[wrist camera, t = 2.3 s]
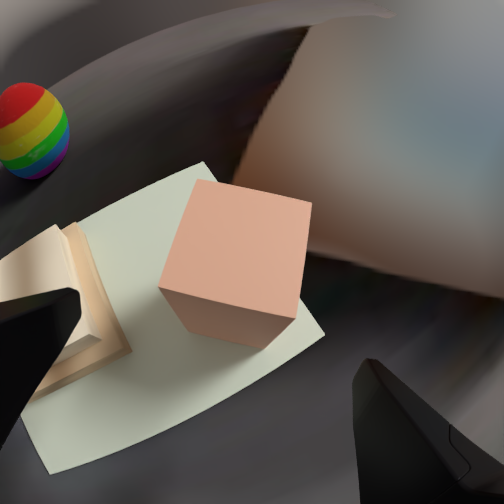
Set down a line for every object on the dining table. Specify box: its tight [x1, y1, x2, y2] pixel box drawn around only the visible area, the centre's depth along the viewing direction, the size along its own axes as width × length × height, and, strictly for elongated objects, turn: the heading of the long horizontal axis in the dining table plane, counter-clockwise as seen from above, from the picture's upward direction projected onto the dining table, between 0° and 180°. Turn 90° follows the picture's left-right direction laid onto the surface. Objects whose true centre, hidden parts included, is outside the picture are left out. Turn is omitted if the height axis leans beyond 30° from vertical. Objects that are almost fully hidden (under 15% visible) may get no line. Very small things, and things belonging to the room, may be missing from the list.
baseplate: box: [21, 162, 325, 475], centre depth 18 cm, size 23×17×1 cm
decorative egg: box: [0, 83, 69, 179], centre depth 20 cm, size 8×8×10 cm
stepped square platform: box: [0, 222, 133, 403], centre depth 16 cm, size 10×10×4 cm
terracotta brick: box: [158, 179, 312, 349], centre depth 15 cm, size 5×5×9 cm
